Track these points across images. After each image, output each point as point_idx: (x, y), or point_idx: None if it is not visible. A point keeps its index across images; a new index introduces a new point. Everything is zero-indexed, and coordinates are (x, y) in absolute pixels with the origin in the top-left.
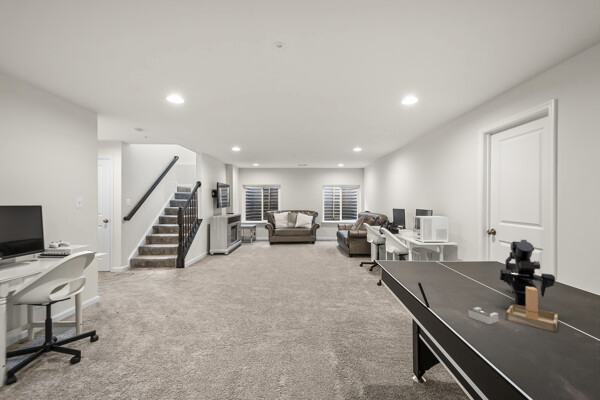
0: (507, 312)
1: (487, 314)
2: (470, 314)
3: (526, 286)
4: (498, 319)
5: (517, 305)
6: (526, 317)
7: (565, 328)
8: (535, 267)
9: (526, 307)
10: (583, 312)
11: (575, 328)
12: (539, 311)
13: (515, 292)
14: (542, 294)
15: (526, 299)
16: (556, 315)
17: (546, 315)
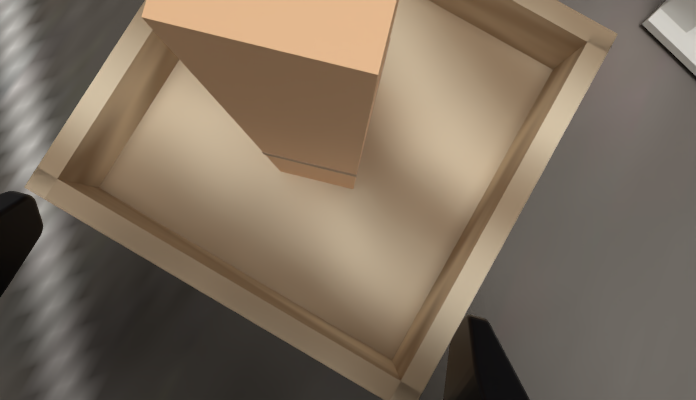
0: (599, 41)
1: None
2: None
3: (360, 54)
4: (669, 1)
5: (367, 360)
6: None
7: (110, 52)
8: None
9: (366, 134)
10: None
11: (17, 80)
12: (183, 248)
13: (465, 327)
14: (12, 205)
15: (374, 98)
16: (81, 113)
17: (142, 218)
